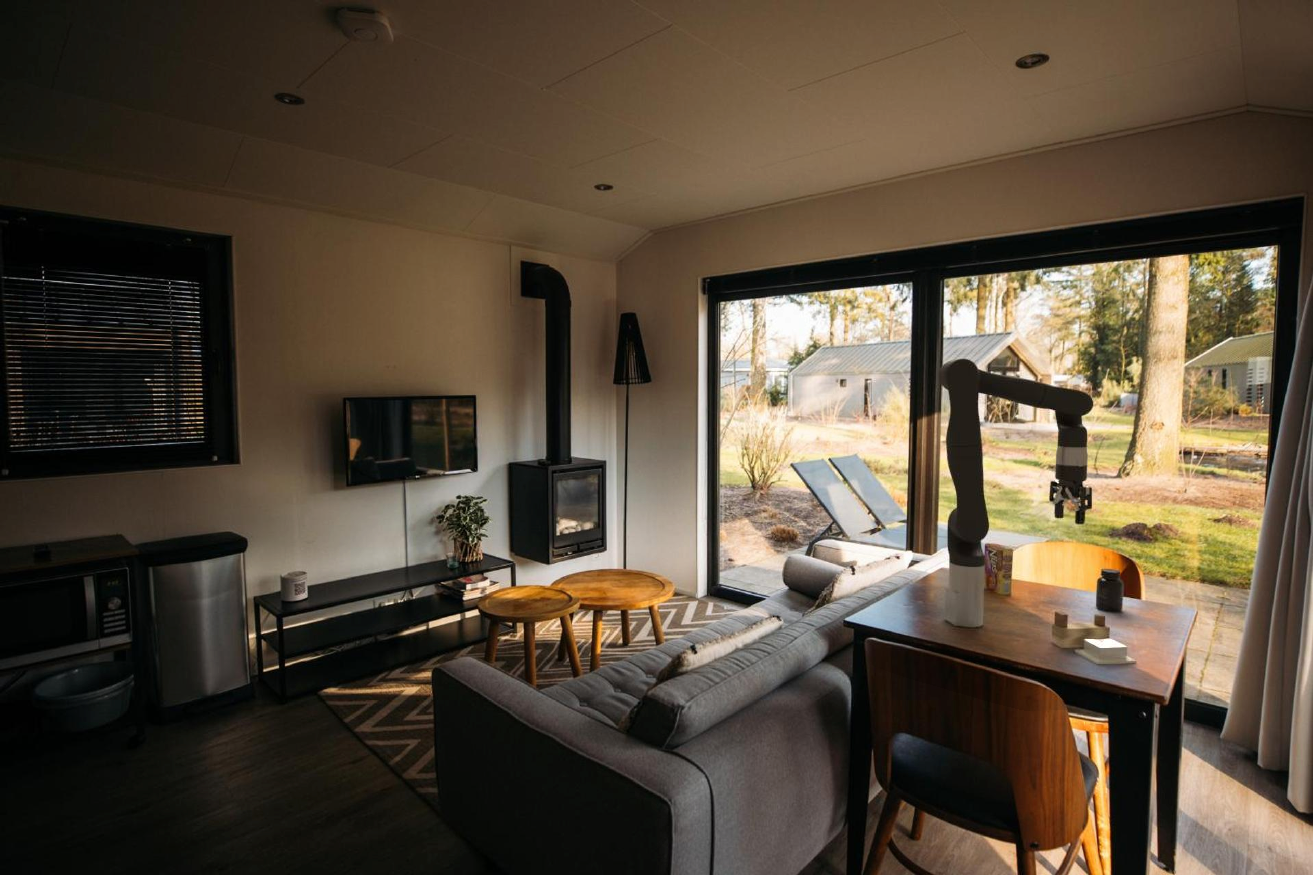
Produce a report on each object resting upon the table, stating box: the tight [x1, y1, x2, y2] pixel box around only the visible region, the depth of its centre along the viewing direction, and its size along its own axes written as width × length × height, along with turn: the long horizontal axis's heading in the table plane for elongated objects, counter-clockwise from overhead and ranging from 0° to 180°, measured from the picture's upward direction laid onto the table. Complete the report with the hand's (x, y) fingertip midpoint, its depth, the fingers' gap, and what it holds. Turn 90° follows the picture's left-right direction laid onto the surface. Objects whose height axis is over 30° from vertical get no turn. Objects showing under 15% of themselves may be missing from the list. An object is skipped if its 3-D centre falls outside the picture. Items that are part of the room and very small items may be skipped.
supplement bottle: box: [1095, 568, 1124, 613], centre depth 210 cm, size 7×7×12 cm
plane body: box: [1051, 610, 1111, 649], centre depth 181 cm, size 13×4×8 cm, turn 95°
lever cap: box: [1083, 638, 1128, 660], centre depth 172 cm, size 7×6×3 cm
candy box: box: [983, 542, 1014, 596], centre depth 229 cm, size 9×4×15 cm, turn 13°
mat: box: [1074, 648, 1137, 665], centre depth 172 cm, size 10×8×1 cm
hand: (1069, 520), depth 193 cm, fingers open, 8 cm apart
